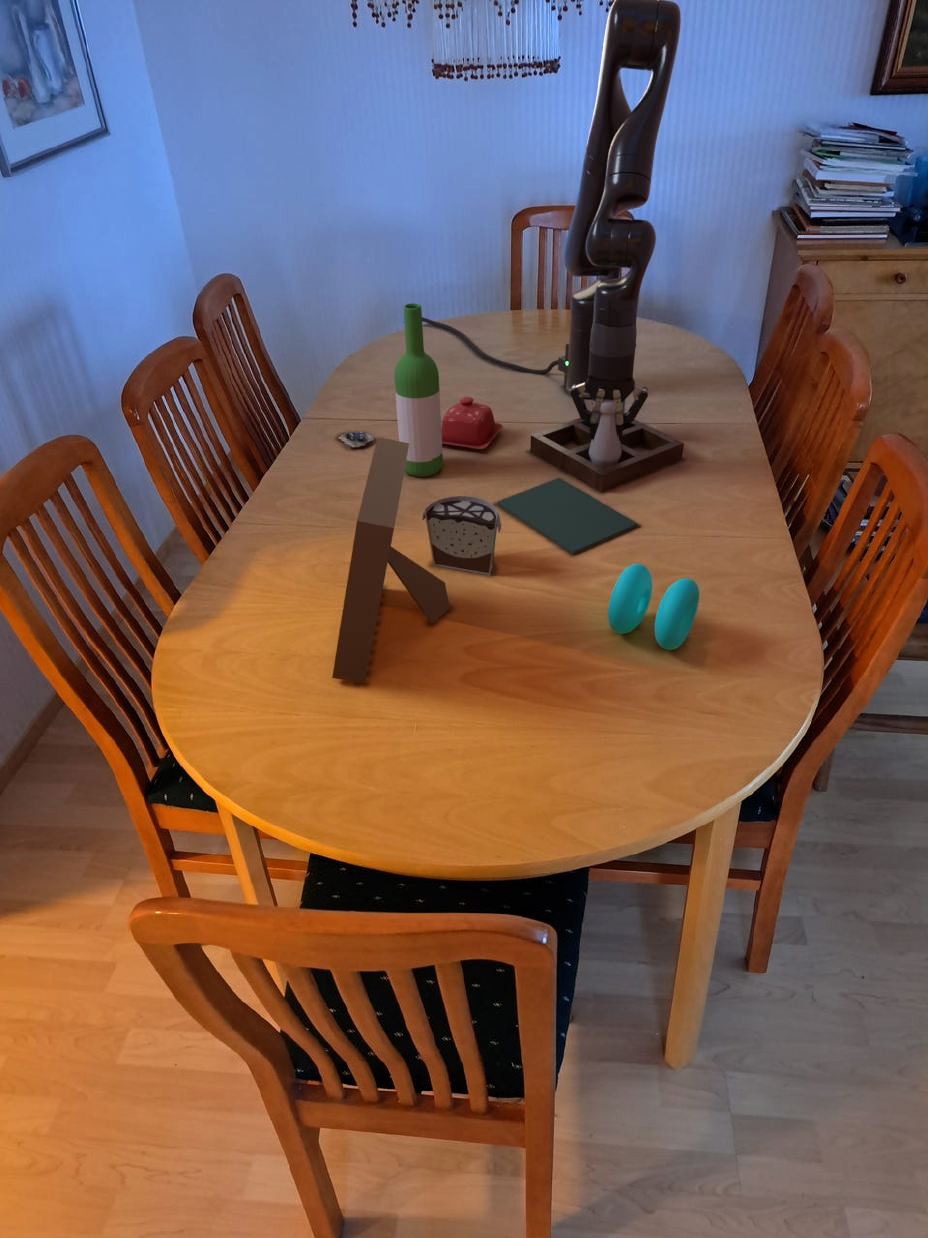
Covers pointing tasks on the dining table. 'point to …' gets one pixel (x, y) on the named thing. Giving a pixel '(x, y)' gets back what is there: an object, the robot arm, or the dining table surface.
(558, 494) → the placemat
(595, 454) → the salt shaker
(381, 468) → the photo frame
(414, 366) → the wine bottle
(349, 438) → the blueberries
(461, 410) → the butter dish
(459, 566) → the food container
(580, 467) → the stand
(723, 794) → the dining table surface
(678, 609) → the donuts
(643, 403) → the robot arm
